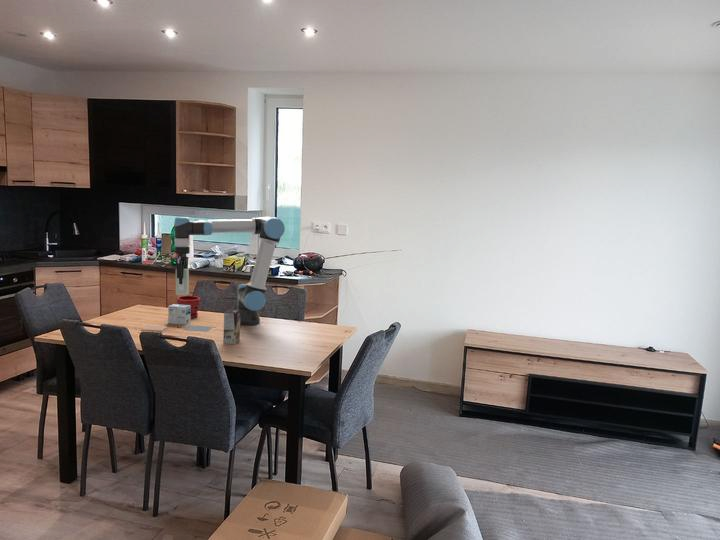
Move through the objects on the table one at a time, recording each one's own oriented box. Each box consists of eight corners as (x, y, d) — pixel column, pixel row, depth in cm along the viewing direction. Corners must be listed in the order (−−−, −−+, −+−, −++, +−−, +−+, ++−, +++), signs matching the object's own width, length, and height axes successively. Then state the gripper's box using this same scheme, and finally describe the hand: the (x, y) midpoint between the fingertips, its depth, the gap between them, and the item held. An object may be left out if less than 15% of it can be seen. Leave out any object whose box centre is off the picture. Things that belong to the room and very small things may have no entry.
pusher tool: (189, 294, 298) (188, 268, 296) (186, 295, 294) (186, 269, 292) (178, 293, 298) (177, 268, 296) (175, 295, 294) (175, 269, 292)
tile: (167, 326, 298) (147, 325, 298) (161, 330, 289) (140, 329, 289) (167, 330, 298) (147, 329, 298) (161, 334, 289) (140, 333, 289)
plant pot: (172, 317, 329) (172, 297, 327) (186, 313, 341) (187, 294, 339) (189, 320, 324) (190, 300, 323) (204, 316, 336) (204, 297, 335)
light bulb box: (190, 323, 316) (191, 304, 315) (185, 325, 310) (186, 307, 308) (173, 321, 317) (173, 303, 316) (167, 324, 311) (168, 305, 309)
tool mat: (213, 327, 309) (213, 326, 308) (207, 332, 297) (207, 331, 297) (188, 326, 309) (188, 325, 309) (181, 331, 297) (181, 330, 297)
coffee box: (235, 344, 276) (236, 313, 274) (222, 343, 276) (223, 312, 274) (240, 340, 285) (240, 309, 283) (227, 339, 285) (228, 309, 283)
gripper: (180, 244, 301) (180, 286, 304) (169, 247, 284) (170, 291, 287) (193, 245, 301) (194, 287, 304) (184, 247, 284) (184, 292, 287)
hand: (182, 289), depth 296 cm, fingers closed on pusher tool, 3 cm apart
